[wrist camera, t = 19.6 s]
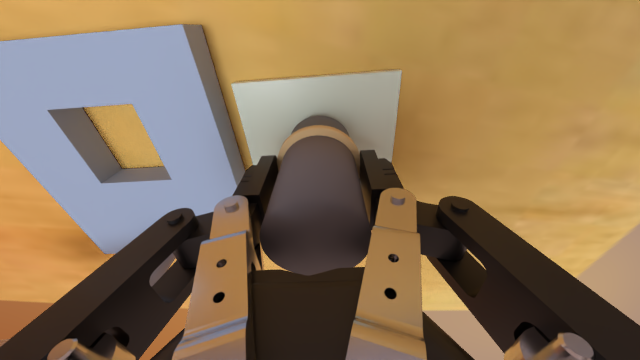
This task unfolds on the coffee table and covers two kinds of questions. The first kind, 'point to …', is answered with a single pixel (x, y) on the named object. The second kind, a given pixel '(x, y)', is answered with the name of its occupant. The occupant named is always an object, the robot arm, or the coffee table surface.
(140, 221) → the plate
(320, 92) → the pad
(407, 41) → the coffee table surface
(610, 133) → the coffee table surface
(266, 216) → the plug
